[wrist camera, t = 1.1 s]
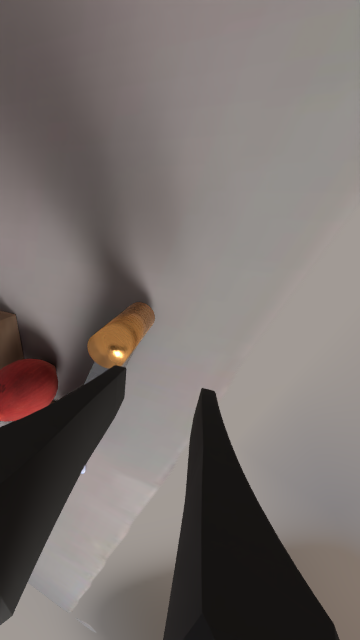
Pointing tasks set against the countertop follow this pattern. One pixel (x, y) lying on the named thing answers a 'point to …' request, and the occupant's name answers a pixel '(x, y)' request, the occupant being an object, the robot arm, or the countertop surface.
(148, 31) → the countertop surface
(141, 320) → the lever
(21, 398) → the onion
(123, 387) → the robot arm
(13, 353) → the bench
